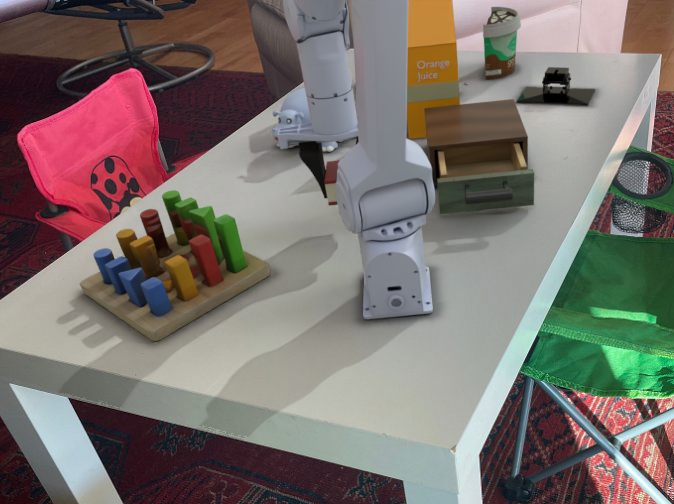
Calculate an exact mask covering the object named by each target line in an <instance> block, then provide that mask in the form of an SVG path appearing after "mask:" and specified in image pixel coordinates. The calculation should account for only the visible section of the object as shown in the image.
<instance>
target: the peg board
mask: <svg viewBox="0 0 674 504" xmlns="http://www.w3.org/2000/svg"><path fill="white" fill-rule="evenodd" d="M161 198H162V201H163V204H164V207H165V209H166V213H167V215H168V218H169V221H170V224H171V227H172V229H173V232H174V233H172V234H170V235H169V236H167V237H166V233H165V230H164V226H163V224H162V220H161V217H160V214H159V210H157V209H156V208H149V209H146V210H143V211H142V212H140V214H139V217H140V220H141V223H142V226H143V228H144V231H145V235H143V236H141V237H140V238H138V236H137V233H136V232H135V230H134V229H133V228H124V229H120V230H119V231H117V232H116V234H115V236H116V239H117V242H118V244H119V247H120V250H121V251H122V254H123V255H121V256H119V257H116V258H115V256H114V254H113V251H112V249H111V248H108V247H104V248H100V249H97V250H96V251H94V252H93V253H92V254H93V258H94V261H95V264H96V265H97V267H98V270H99V271H97V272H96V273H95V274H94V273H93V274H92V275H90V276H89V277H87V278H85V279H83V280H81V281H80V282H79V286H80V288H81V291H82V293H84V295H86V296H88V297H89V298H90V299H92V300H93V301H94V302H95V303H97V304H99V305H100V306H101V307H103V308H104V309H105V310H107V311H108V312H110V313H112V314H113V315H114V316H115V317H117V318H119V319H120V320H122V322H125V323H126V324H127V325H129V326H130V327H132V328H133V329H134V330H135V331H137V332H139V333H140V334H142V335H143V336H144V337H146V338H147V339H148V340H150V341H152V342H158V341H160V340H162V339H164V338H166V337H168V336H169V335H171V334H173V333H174V332H176V331H177V330H179V329H181V328H182V327H184V326H186V325H188V324H190V323H191V322H193V321H195V320H197V319H199V318H200V317H202V316H204V315H205V314H207V313H209V312H210V311H212V310H213V309H215V308H217V307H218V306H221V305H222V304H224V303H225V302H227V301H229V300H230V299H231V298H232V299H233V297H235V296H238V295H239V294H240V293H242V292H244V291H246V290H247V289H249V288H251V287H253V286H254V285H255V284H258V283H259V282H261V281H263V280H264V279H267V278H268V277H269V276H271V268H270V264H269V262H267V261H266V260H263V259H261V258H259V257H257V256H256V255H253V254H251V253H250V252H247V251H245V250H244V248H243V245H242V240H241V237H240V233H239V229H238V225H237V221H236V218H235V217H233V216H232V215H230V214H227V213H226V214H222V215H220V216H218V217H216V214H215V211H214V207H213V206H212V205H207V206H203V207H199V205H198V201H197V200H196V198H193V197H187V198H185V199H182V197H181V195H180V192H179V191H178V190H174V189H173V190H168V191H166V192H163V194H162V195H161Z"/></svg>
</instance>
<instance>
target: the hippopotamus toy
mask: <svg viewBox="0 0 674 504" xmlns="http://www.w3.org/2000/svg"><path fill="white" fill-rule="evenodd" d="M272 116H273V117H274V118H276V117H278V118H277V122H278V124H276V125H275V126H274V127H273V128H272V129H271V130H272V133H271V135H272V136H273V140H274V142H275V143H277V144H276V147H278V148H280V146H279V141H278V137H277V133H278V129H280V128H287V127H292V126H296V125H301V124H305V123H309V122H311V118H310V113H309V107H308V102H307V97H306V91H305V86H304V87H301V88H299V89H296V90H294V91H293V92H291V93H290V94H289V95H288V96H286V97H285V99H284V101H283V102H282V104H281V106H280V111H279V110H276V109H275V110H273V111H272ZM338 142H339V143H343V141H334V142H325V143H322V150H323V153H325V152H327V153H331V152H333V151H334V150H335V149H337V148H338V147H339V144H338ZM294 147H295V146H289V148H290V149H292V148H294ZM289 148H288V149H289Z"/></svg>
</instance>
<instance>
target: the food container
mask: <svg viewBox="0 0 674 504" xmlns="http://www.w3.org/2000/svg"><path fill="white" fill-rule="evenodd" d="M490 9H491V11H490V12H491V13H490V16H489V17H488V19H487V22H486V24H483V25H482V38H483V48H484V49H483V50H484V51H483V52H484V71H485V74H484V75H485V81H486V80H496V79H497V80H498V79H501V78H506V77H508V76H510V75H512V74H513V73H515V70H516V55H517V40H518V38H517V37H518V30H519V29H521V27H522V23H521V17H520V15H519V12H518V11H517V10H516V9H514V8H510V7H506V6H491V7H490Z"/></svg>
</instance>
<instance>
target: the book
mask: <svg viewBox="0 0 674 504" xmlns="http://www.w3.org/2000/svg"><path fill="white" fill-rule="evenodd" d="M340 160H341V159H339V160H338V159H337V160H329V161H326V163H325V164H326V165H325V169H326V172H325V180H324V183H325V188H326V193H327V198H326V199H327V204H328V205H327V206H329V207H330V206H338V204H337V200H336V194H335V184H336V182H337V170H338V162H339V161H340Z"/></svg>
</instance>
